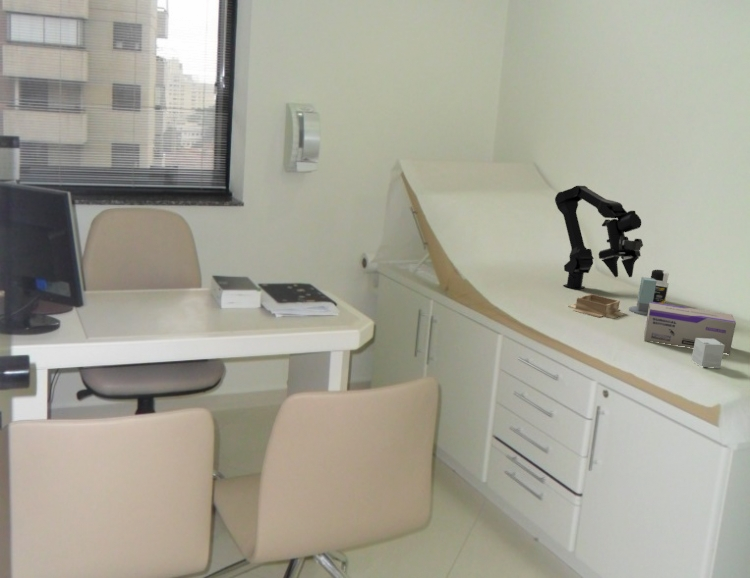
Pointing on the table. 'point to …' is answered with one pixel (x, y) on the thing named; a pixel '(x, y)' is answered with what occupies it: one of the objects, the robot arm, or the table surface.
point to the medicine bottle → (660, 285)
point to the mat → (634, 309)
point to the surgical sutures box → (687, 325)
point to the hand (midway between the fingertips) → (623, 277)
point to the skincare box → (708, 352)
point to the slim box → (646, 293)
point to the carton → (597, 306)
